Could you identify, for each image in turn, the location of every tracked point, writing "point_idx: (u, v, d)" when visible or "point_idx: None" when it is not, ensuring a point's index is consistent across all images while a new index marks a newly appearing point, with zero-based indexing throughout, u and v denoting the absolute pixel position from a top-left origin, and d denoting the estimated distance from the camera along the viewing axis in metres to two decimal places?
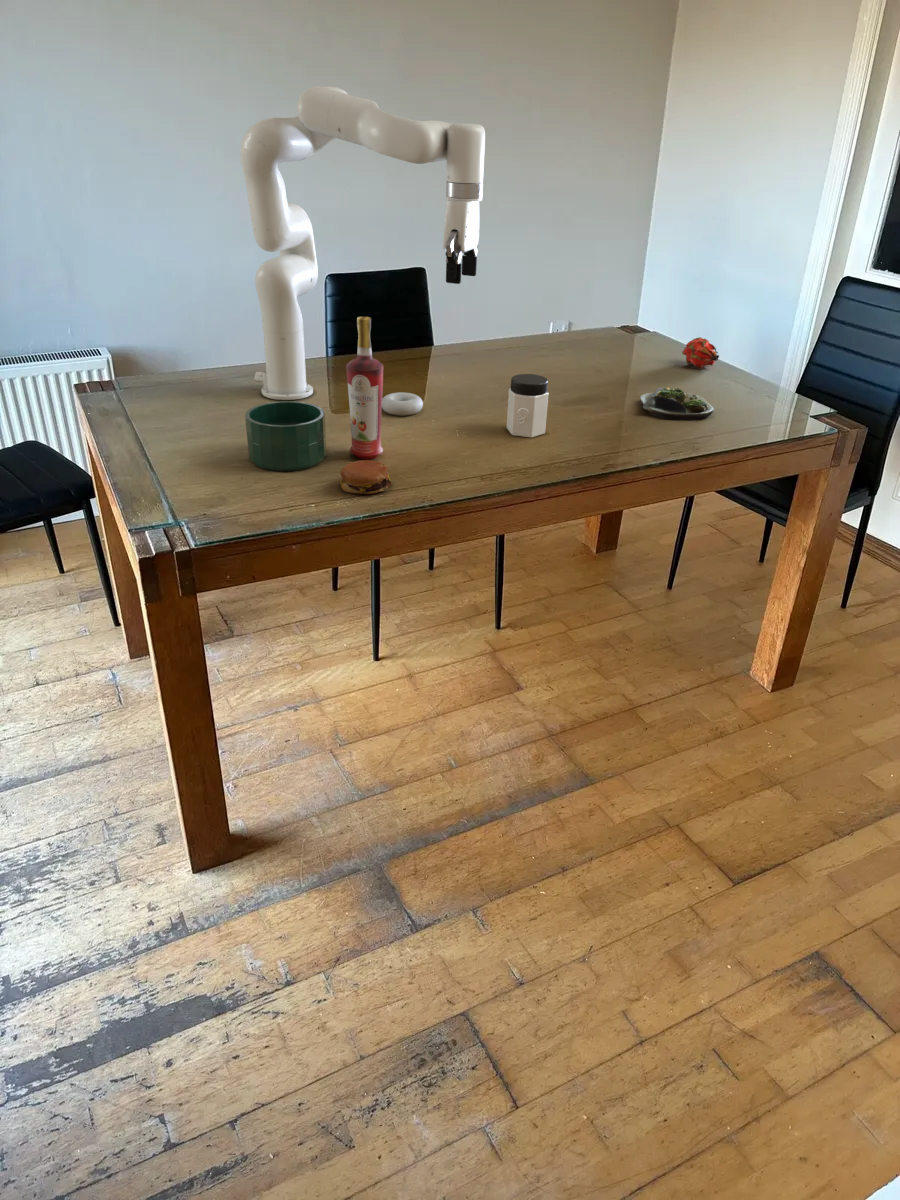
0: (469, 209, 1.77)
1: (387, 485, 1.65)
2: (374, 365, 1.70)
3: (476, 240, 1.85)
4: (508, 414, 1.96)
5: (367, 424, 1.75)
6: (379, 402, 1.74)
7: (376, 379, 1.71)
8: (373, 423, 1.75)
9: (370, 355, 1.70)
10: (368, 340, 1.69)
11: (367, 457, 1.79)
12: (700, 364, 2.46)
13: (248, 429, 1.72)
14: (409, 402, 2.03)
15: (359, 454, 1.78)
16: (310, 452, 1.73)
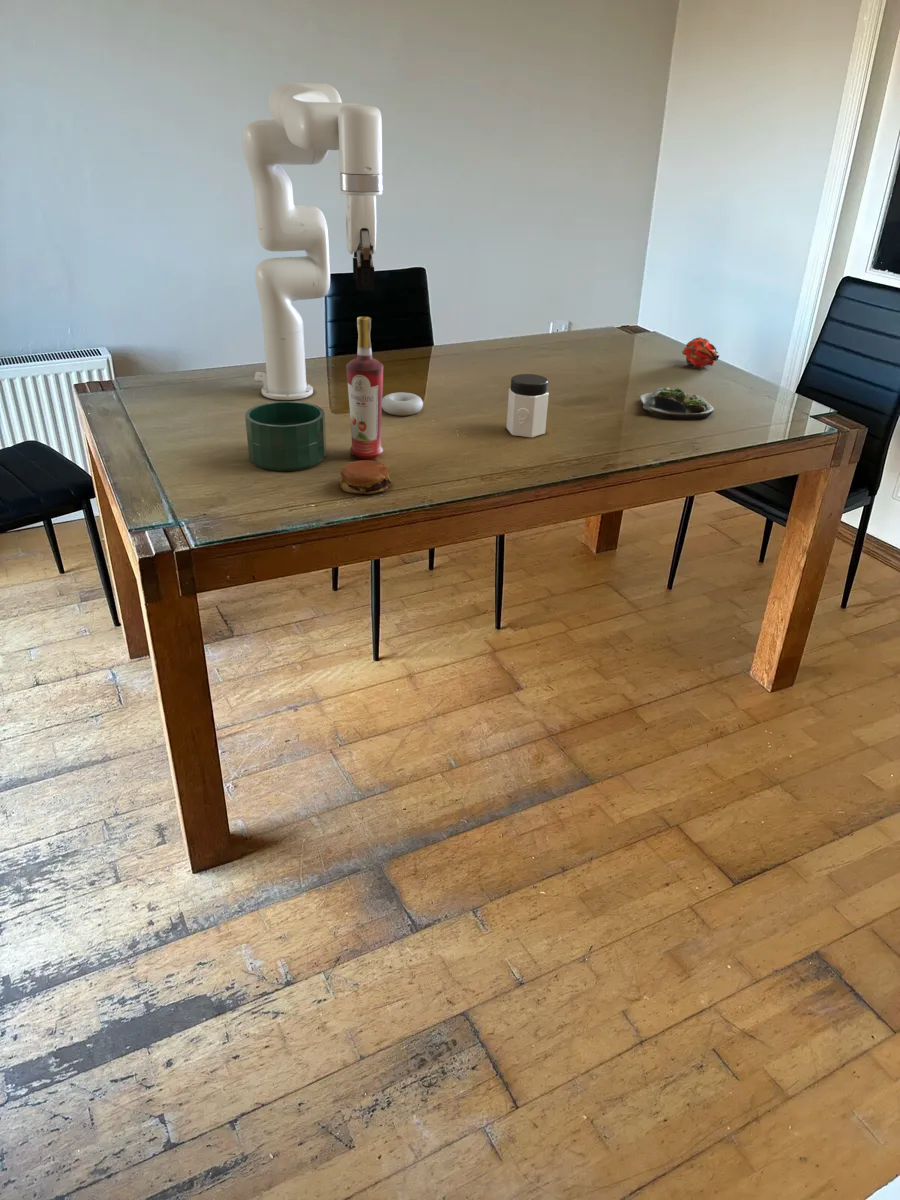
0: (375, 204, 1.55)
1: (387, 485, 1.65)
2: (374, 365, 1.70)
3: None
4: (508, 414, 1.96)
5: (367, 424, 1.75)
6: (379, 402, 1.74)
7: (376, 379, 1.71)
8: (373, 423, 1.75)
9: (370, 355, 1.70)
10: (368, 340, 1.69)
11: (367, 457, 1.79)
12: (700, 364, 2.46)
13: (248, 429, 1.72)
14: (409, 402, 2.03)
15: (359, 454, 1.78)
16: (310, 452, 1.73)
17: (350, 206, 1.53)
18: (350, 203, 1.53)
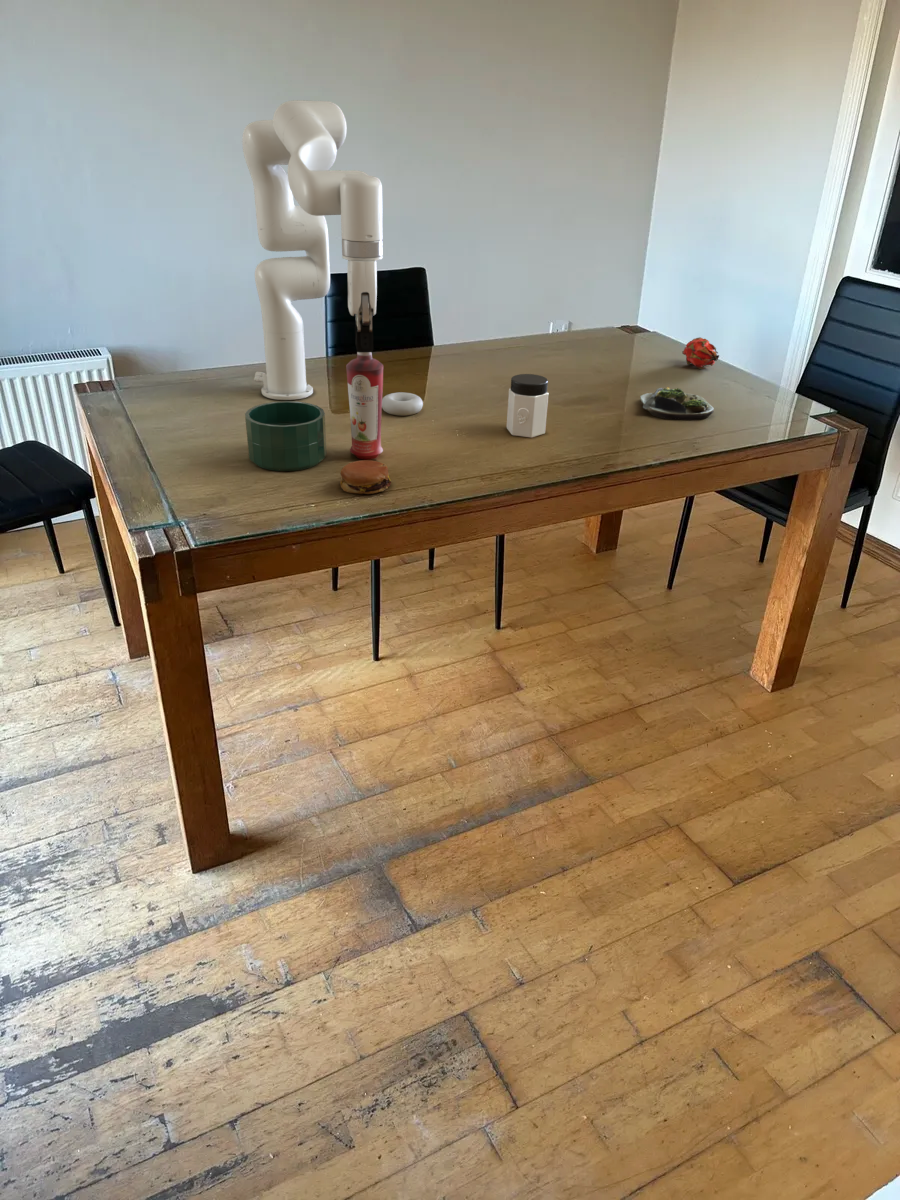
0: (376, 269, 1.60)
1: (387, 485, 1.65)
2: (374, 365, 1.70)
3: None
4: (508, 414, 1.96)
5: (367, 424, 1.75)
6: (379, 402, 1.74)
7: (376, 379, 1.71)
8: (373, 423, 1.75)
9: (370, 355, 1.70)
10: None
11: (367, 457, 1.79)
12: (700, 364, 2.46)
13: (248, 429, 1.72)
14: (409, 402, 2.03)
15: (359, 454, 1.78)
16: (310, 452, 1.73)
17: (351, 271, 1.59)
18: (351, 268, 1.59)
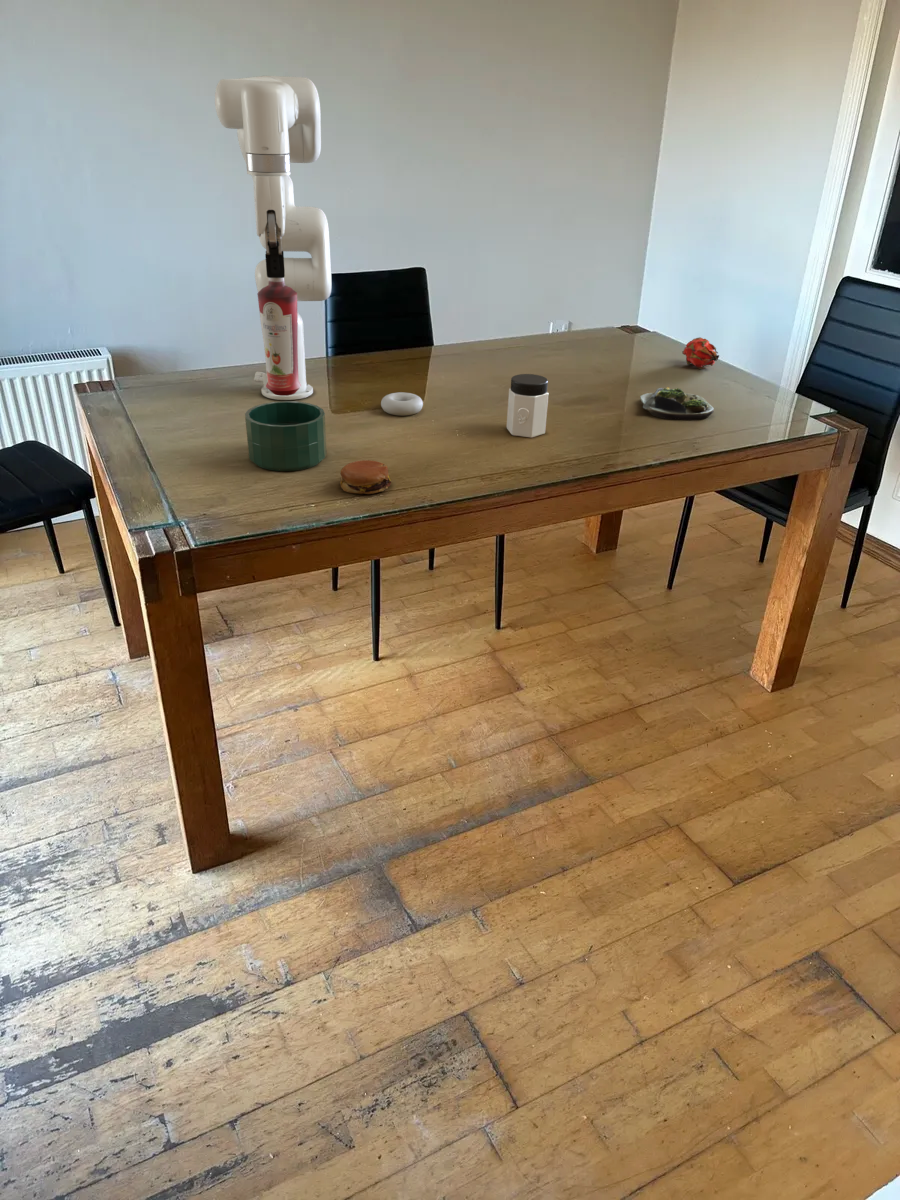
0: (282, 185, 1.51)
1: (387, 485, 1.65)
2: (286, 292, 1.61)
3: None
4: (508, 414, 1.96)
5: (282, 356, 1.66)
6: (294, 333, 1.65)
7: (289, 307, 1.62)
8: (287, 355, 1.66)
9: (282, 281, 1.61)
10: None
11: (283, 392, 1.69)
12: (700, 364, 2.46)
13: (248, 429, 1.72)
14: (409, 402, 2.03)
15: (274, 389, 1.69)
16: (310, 452, 1.73)
17: (255, 187, 1.49)
18: (255, 184, 1.49)
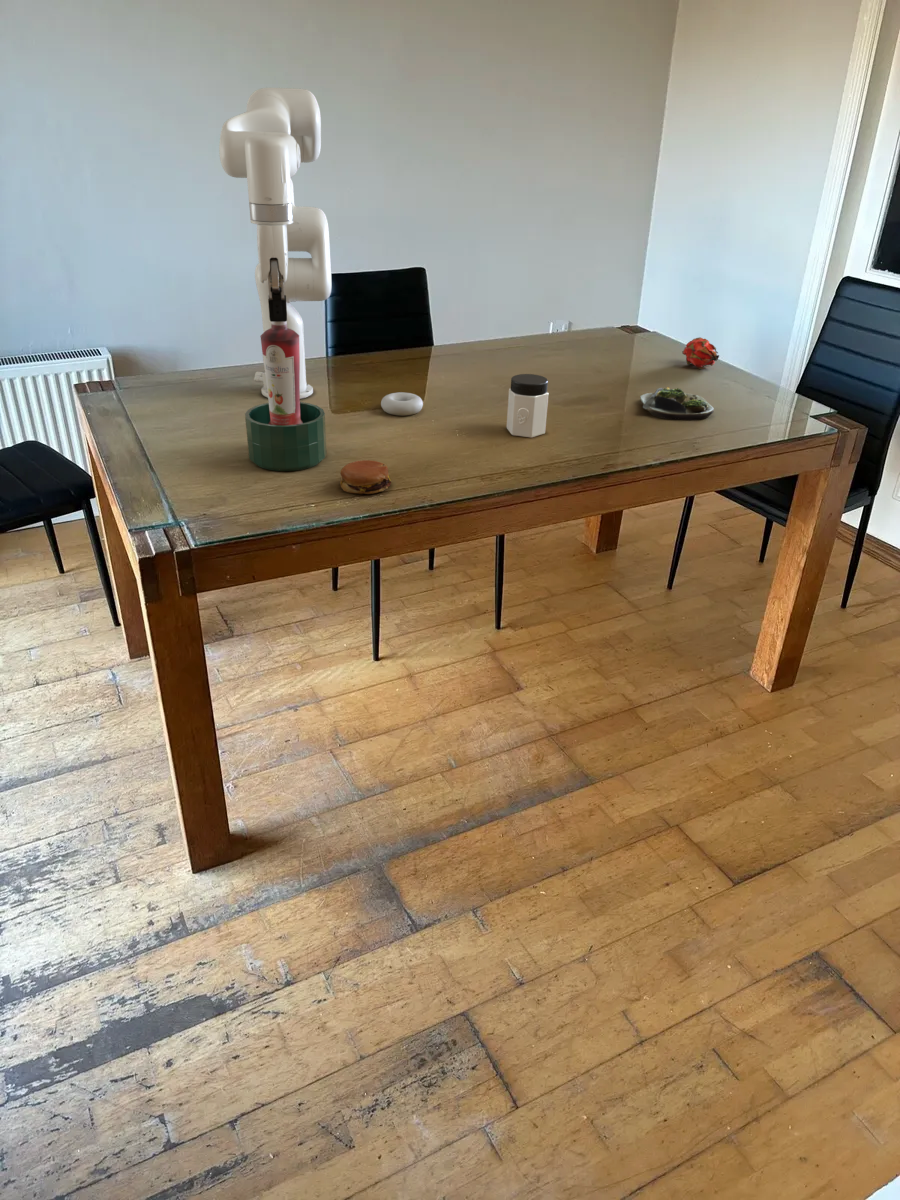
0: (285, 234, 1.55)
1: (387, 485, 1.65)
2: (289, 335, 1.65)
3: None
4: (508, 414, 1.96)
5: (284, 397, 1.70)
6: (296, 374, 1.69)
7: (291, 349, 1.66)
8: (290, 395, 1.70)
9: (284, 325, 1.65)
10: None
11: None
12: (700, 364, 2.46)
13: (248, 429, 1.72)
14: (409, 402, 2.03)
15: None
16: (310, 452, 1.73)
17: (259, 236, 1.53)
18: (259, 233, 1.53)
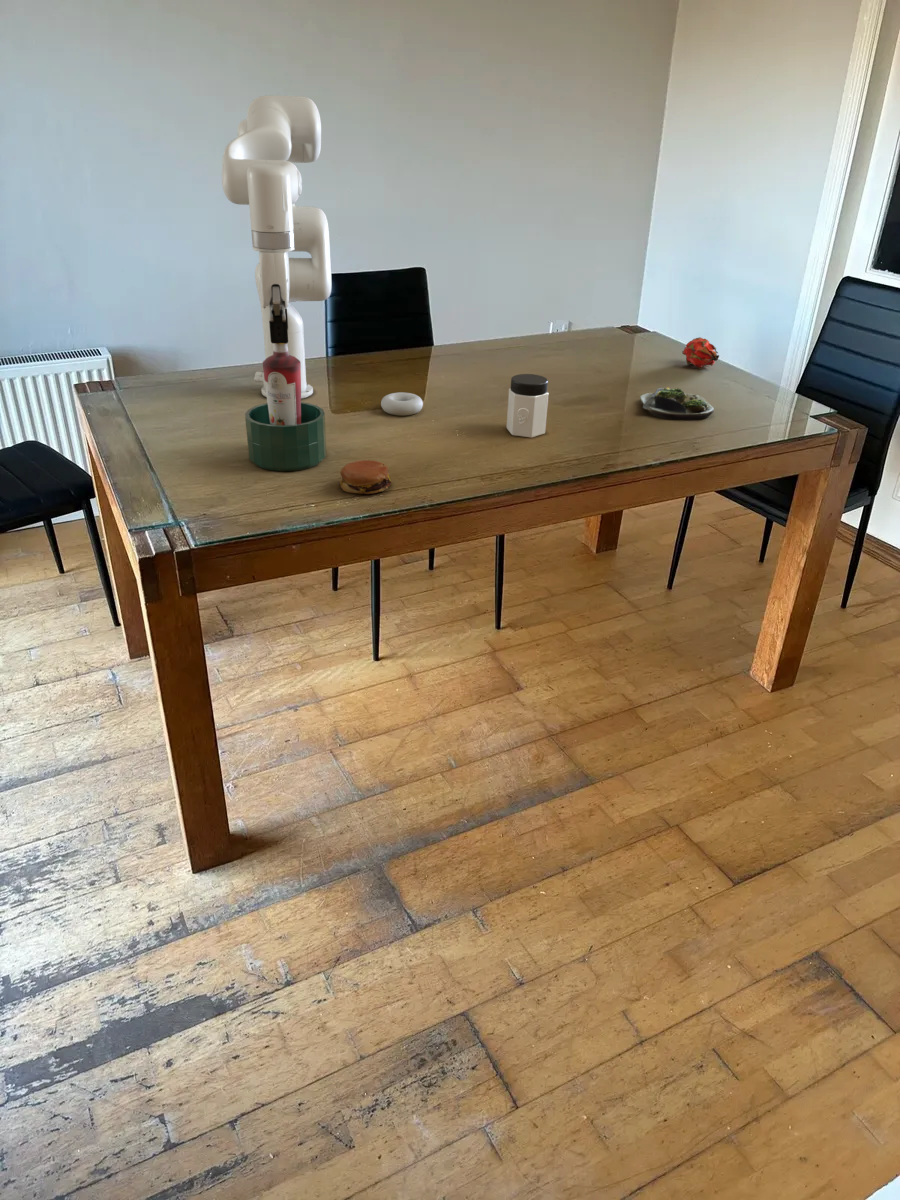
0: (286, 260, 1.57)
1: (387, 485, 1.65)
2: (290, 362, 1.67)
3: None
4: (508, 414, 1.96)
5: (286, 422, 1.72)
6: (297, 399, 1.72)
7: (293, 376, 1.68)
8: (291, 420, 1.73)
9: (286, 352, 1.68)
10: None
11: None
12: (700, 364, 2.46)
13: (248, 429, 1.72)
14: (409, 402, 2.03)
15: None
16: (310, 452, 1.73)
17: (261, 263, 1.56)
18: (261, 260, 1.56)
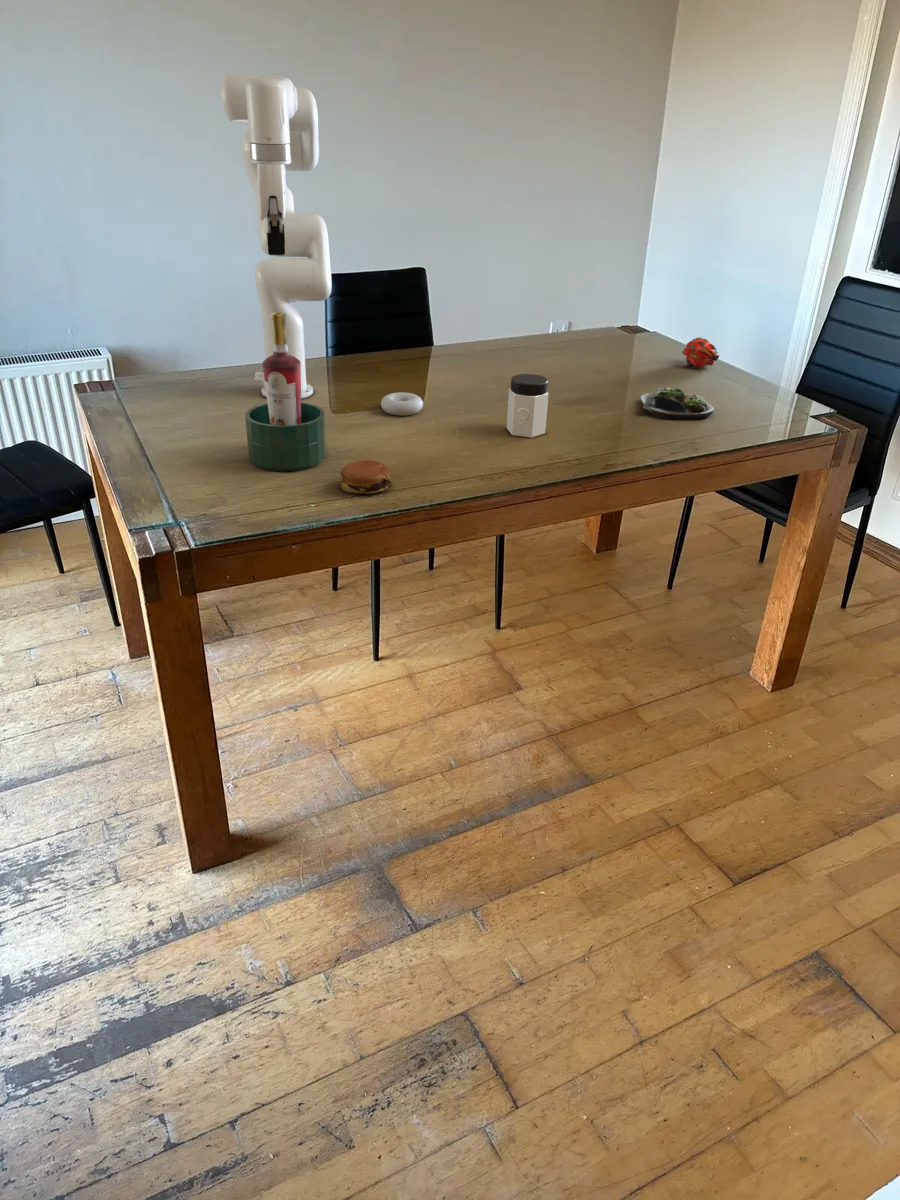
0: (283, 173, 1.64)
1: (387, 485, 1.65)
2: (290, 362, 1.67)
3: None
4: (508, 414, 1.96)
5: (286, 422, 1.72)
6: (297, 399, 1.72)
7: (293, 376, 1.68)
8: (291, 420, 1.73)
9: (286, 352, 1.68)
10: (283, 336, 1.66)
11: None
12: (700, 364, 2.46)
13: (248, 429, 1.72)
14: (409, 402, 2.03)
15: None
16: (310, 452, 1.73)
17: (258, 174, 1.62)
18: (258, 171, 1.62)
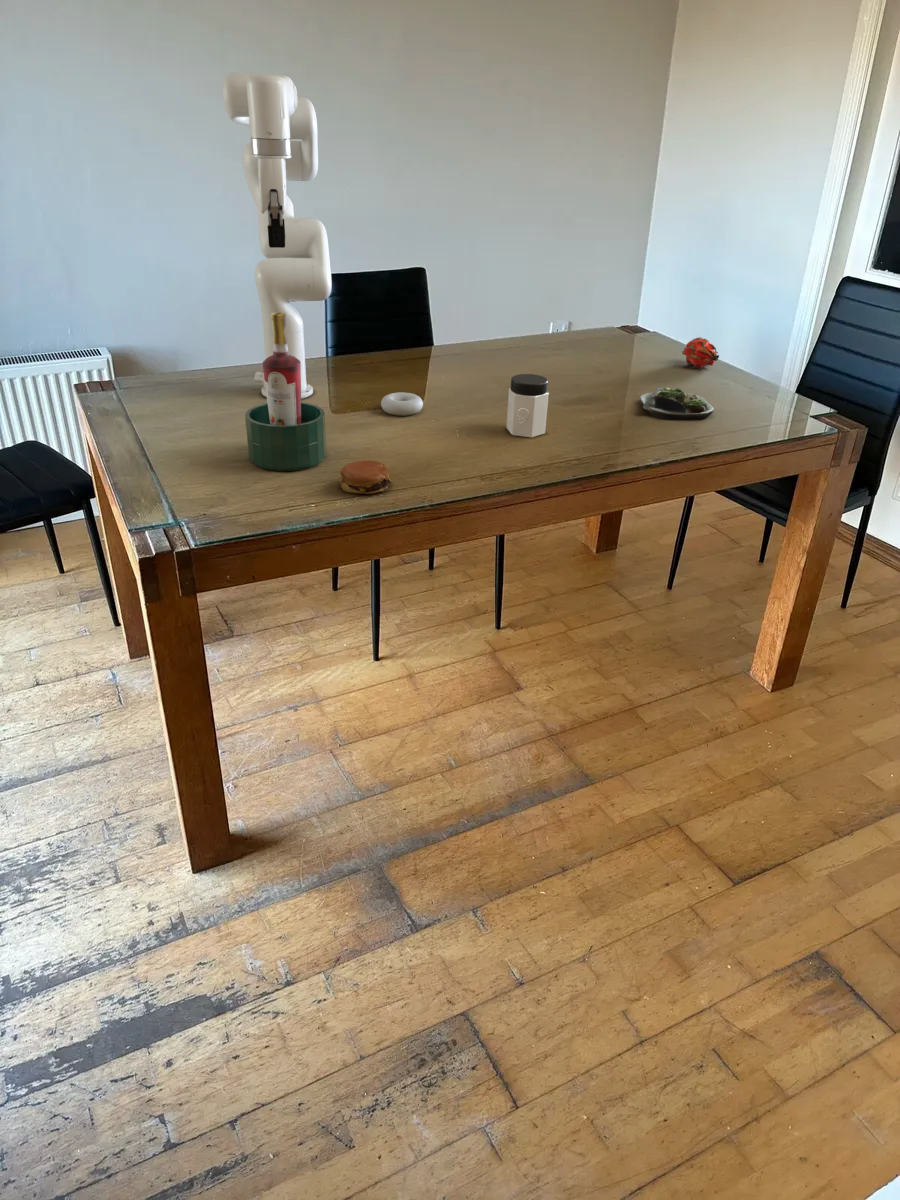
0: (284, 167, 1.68)
1: (387, 485, 1.65)
2: (290, 362, 1.67)
3: None
4: (508, 414, 1.96)
5: (286, 422, 1.72)
6: (297, 399, 1.72)
7: (293, 376, 1.68)
8: (291, 420, 1.73)
9: (286, 352, 1.68)
10: (283, 336, 1.66)
11: None
12: (700, 364, 2.46)
13: (248, 429, 1.72)
14: (409, 402, 2.03)
15: None
16: (310, 452, 1.73)
17: (259, 168, 1.66)
18: (259, 166, 1.66)
